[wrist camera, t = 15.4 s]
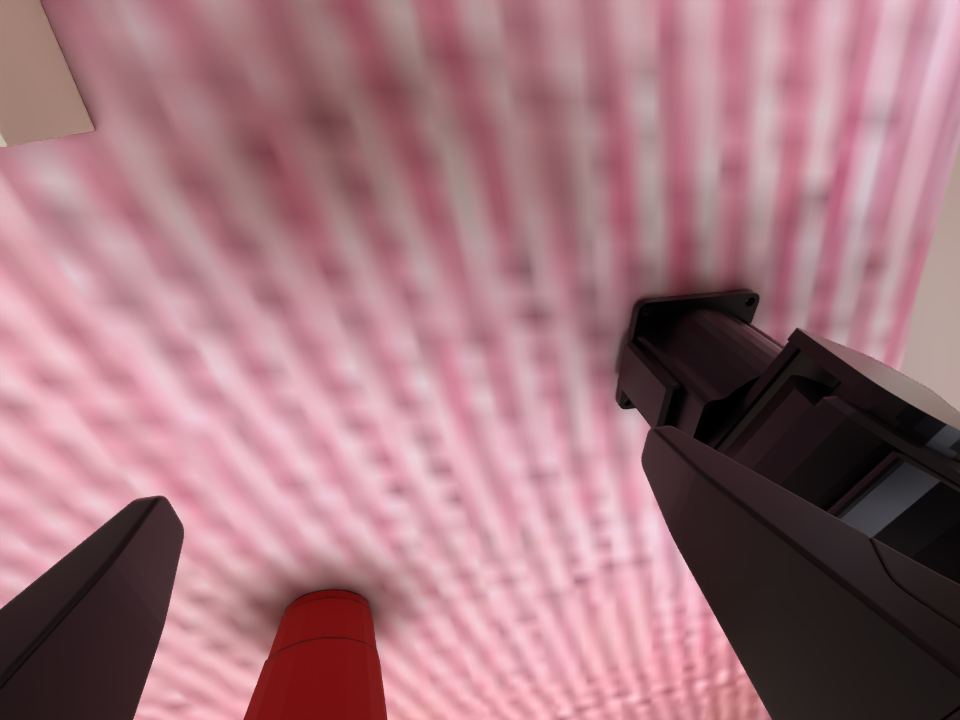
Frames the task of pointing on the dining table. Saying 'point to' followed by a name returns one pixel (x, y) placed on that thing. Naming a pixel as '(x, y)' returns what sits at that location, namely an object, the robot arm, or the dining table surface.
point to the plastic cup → (322, 663)
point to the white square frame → (35, 79)
